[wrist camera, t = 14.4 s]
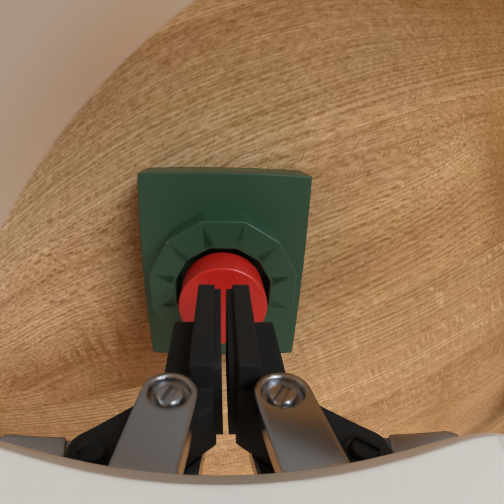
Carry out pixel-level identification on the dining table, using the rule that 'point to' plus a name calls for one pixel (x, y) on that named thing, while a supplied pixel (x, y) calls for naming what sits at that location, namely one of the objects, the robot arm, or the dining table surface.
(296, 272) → the block
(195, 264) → the button
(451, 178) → the dining table surface
